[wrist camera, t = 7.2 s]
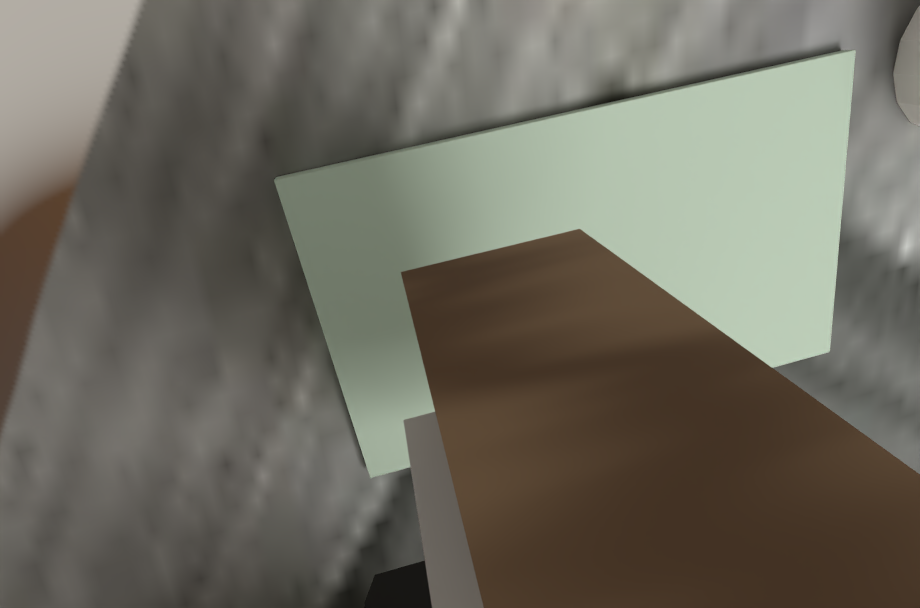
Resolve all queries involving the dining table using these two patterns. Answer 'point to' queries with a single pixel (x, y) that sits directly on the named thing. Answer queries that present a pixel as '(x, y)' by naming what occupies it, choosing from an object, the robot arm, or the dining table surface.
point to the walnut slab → (644, 448)
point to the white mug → (909, 71)
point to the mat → (590, 220)
